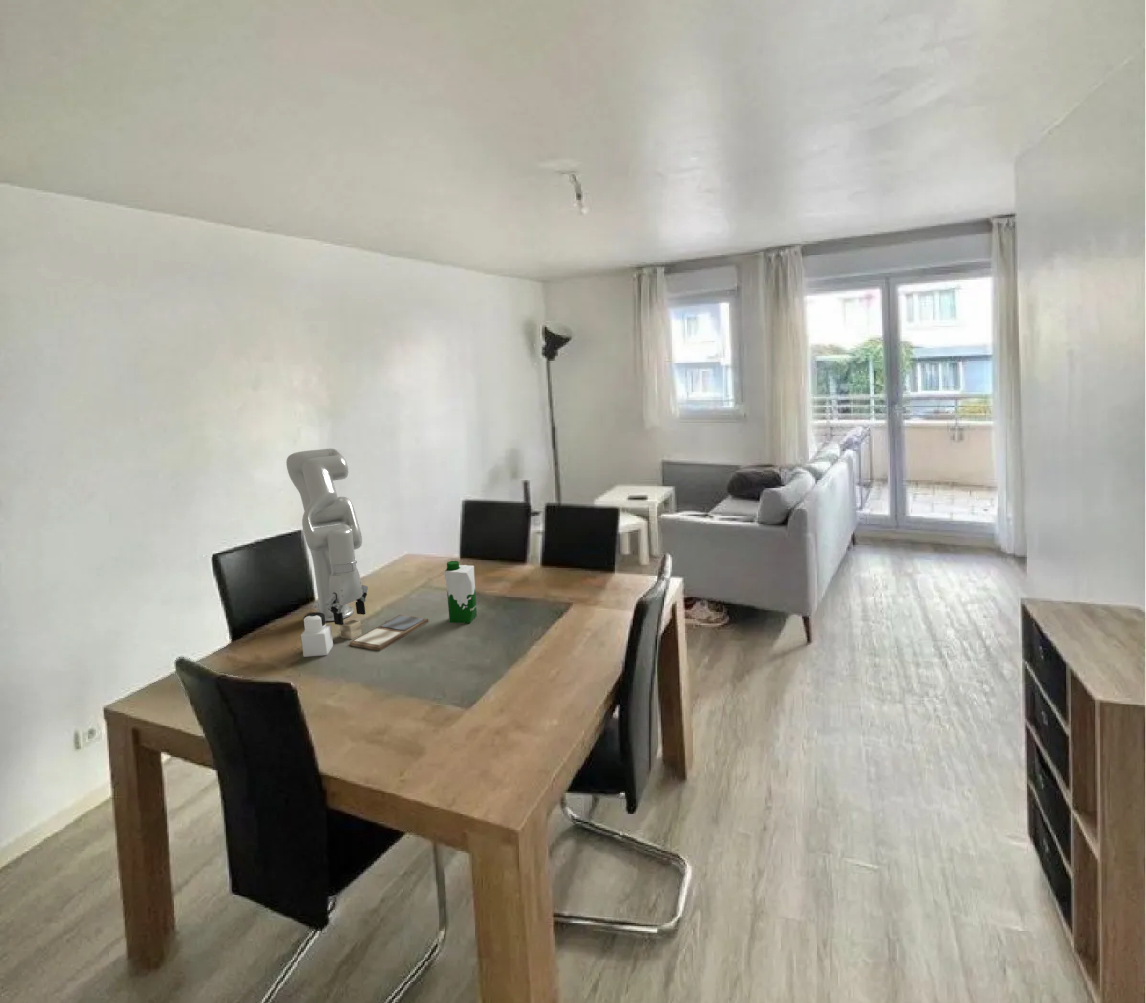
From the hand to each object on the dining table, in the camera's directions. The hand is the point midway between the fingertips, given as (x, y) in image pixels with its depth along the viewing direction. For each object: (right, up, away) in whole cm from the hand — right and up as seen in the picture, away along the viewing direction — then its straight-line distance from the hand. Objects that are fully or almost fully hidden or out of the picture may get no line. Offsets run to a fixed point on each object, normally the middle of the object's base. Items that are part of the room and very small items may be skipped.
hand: (350, 619), depth 211 cm
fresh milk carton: (+34, -2, +12) cm, 36 cm away
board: (+12, -5, +3) cm, 13 cm away
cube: (0, -6, +2) cm, 6 cm away
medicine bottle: (-7, -9, -9) cm, 14 cm away
